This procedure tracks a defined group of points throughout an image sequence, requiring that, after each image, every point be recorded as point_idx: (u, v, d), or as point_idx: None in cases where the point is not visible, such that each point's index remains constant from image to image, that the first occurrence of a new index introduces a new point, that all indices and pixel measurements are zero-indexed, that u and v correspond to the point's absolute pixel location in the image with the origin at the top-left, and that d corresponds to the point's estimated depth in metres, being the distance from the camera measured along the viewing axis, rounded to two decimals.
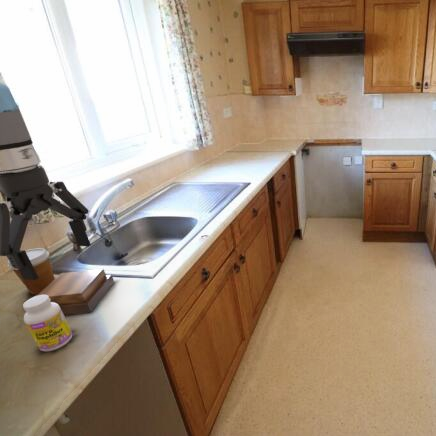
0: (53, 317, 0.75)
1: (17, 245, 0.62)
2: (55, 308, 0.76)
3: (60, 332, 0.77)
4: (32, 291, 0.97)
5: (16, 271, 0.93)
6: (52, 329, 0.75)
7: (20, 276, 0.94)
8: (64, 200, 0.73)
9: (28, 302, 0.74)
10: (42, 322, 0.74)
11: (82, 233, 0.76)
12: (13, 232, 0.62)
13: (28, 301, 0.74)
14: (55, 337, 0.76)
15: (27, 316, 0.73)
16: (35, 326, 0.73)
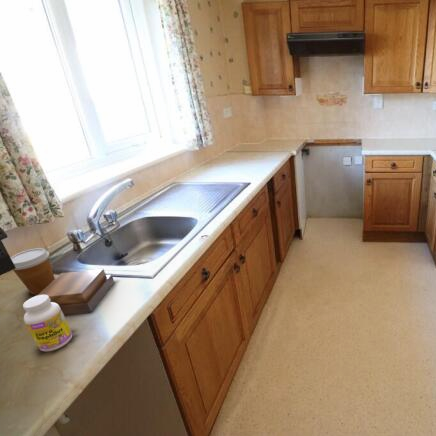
0: (53, 317, 0.75)
1: None
2: (55, 308, 0.76)
3: (60, 332, 0.77)
4: (32, 291, 0.97)
5: (16, 271, 0.93)
6: (52, 329, 0.75)
7: (20, 276, 0.94)
8: None
9: (28, 302, 0.74)
10: (42, 322, 0.74)
11: None
12: None
13: (28, 301, 0.74)
14: (55, 337, 0.76)
15: (27, 316, 0.73)
16: (35, 326, 0.73)
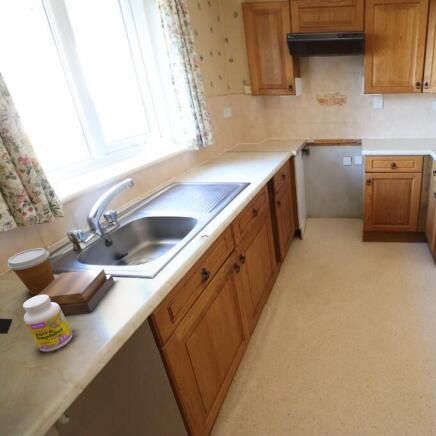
0: (53, 317, 0.75)
1: None
2: (55, 308, 0.76)
3: (60, 332, 0.77)
4: (32, 291, 0.97)
5: (16, 271, 0.93)
6: (52, 329, 0.75)
7: (20, 276, 0.94)
8: None
9: (28, 302, 0.74)
10: (42, 322, 0.74)
11: None
12: None
13: (28, 301, 0.74)
14: (55, 337, 0.76)
15: (27, 316, 0.73)
16: (35, 326, 0.73)
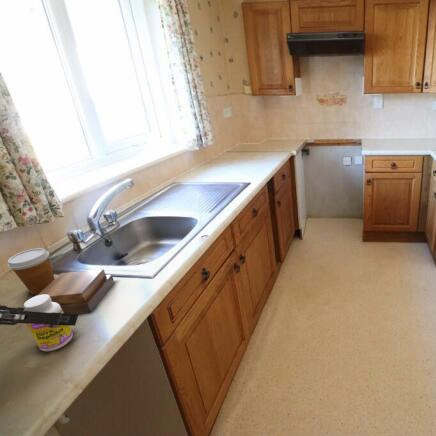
0: None
1: None
2: (56, 308, 0.76)
3: (61, 332, 0.77)
4: (32, 291, 0.97)
5: (16, 271, 0.93)
6: (53, 329, 0.75)
7: (20, 276, 0.94)
8: None
9: (29, 302, 0.74)
10: None
11: None
12: None
13: (29, 301, 0.74)
14: (55, 337, 0.76)
15: None
16: (36, 326, 0.73)
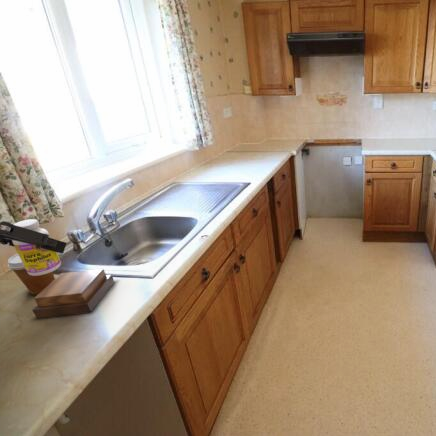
0: None
1: None
2: (43, 232, 0.77)
3: (48, 257, 0.78)
4: (32, 291, 0.97)
5: (16, 271, 0.93)
6: (40, 253, 0.77)
7: (20, 276, 0.94)
8: None
9: (17, 224, 0.75)
10: (30, 244, 0.75)
11: None
12: None
13: (17, 223, 0.75)
14: (43, 262, 0.77)
15: None
16: (23, 247, 0.75)
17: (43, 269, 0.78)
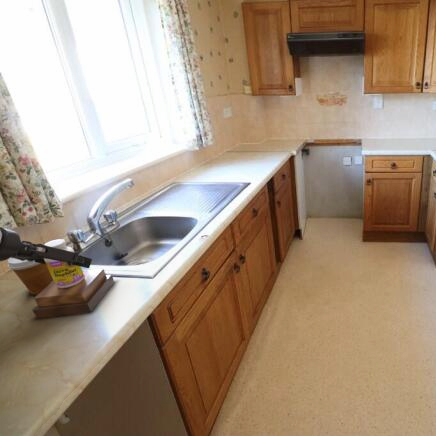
0: None
1: None
2: (70, 250, 0.89)
3: (74, 271, 0.90)
4: (32, 291, 0.97)
5: (16, 271, 0.93)
6: (68, 268, 0.88)
7: (20, 276, 0.94)
8: None
9: (48, 244, 0.87)
10: (59, 261, 0.86)
11: None
12: None
13: (47, 243, 0.87)
14: (70, 276, 0.89)
15: None
16: (54, 264, 0.86)
17: (70, 282, 0.90)
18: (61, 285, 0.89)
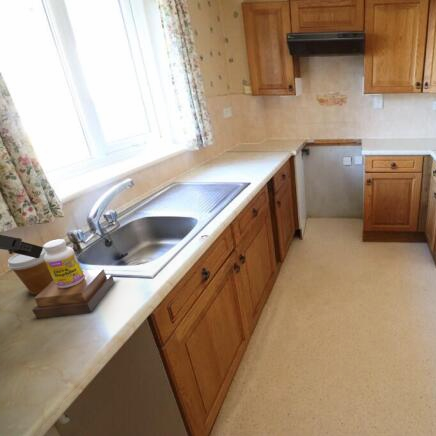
0: (68, 257, 0.88)
1: None
2: (70, 250, 0.89)
3: (74, 271, 0.90)
4: (32, 291, 0.97)
5: (16, 271, 0.93)
6: (68, 268, 0.88)
7: (20, 276, 0.94)
8: None
9: (48, 244, 0.87)
10: (59, 261, 0.86)
11: None
12: None
13: (47, 243, 0.87)
14: (70, 276, 0.89)
15: (46, 255, 0.86)
16: (54, 264, 0.86)
17: (70, 282, 0.90)
18: (61, 285, 0.89)
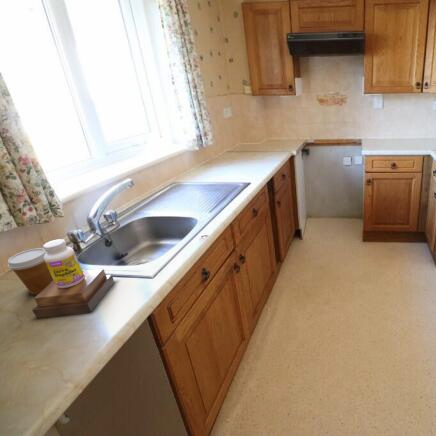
0: (68, 257, 0.88)
1: None
2: (70, 250, 0.89)
3: (74, 271, 0.90)
4: (32, 291, 0.97)
5: (16, 271, 0.93)
6: (68, 268, 0.88)
7: (20, 276, 0.94)
8: None
9: (48, 244, 0.87)
10: (59, 261, 0.86)
11: None
12: None
13: (47, 243, 0.87)
14: (70, 276, 0.89)
15: (46, 255, 0.86)
16: (54, 264, 0.86)
17: (70, 282, 0.90)
18: (61, 285, 0.89)
